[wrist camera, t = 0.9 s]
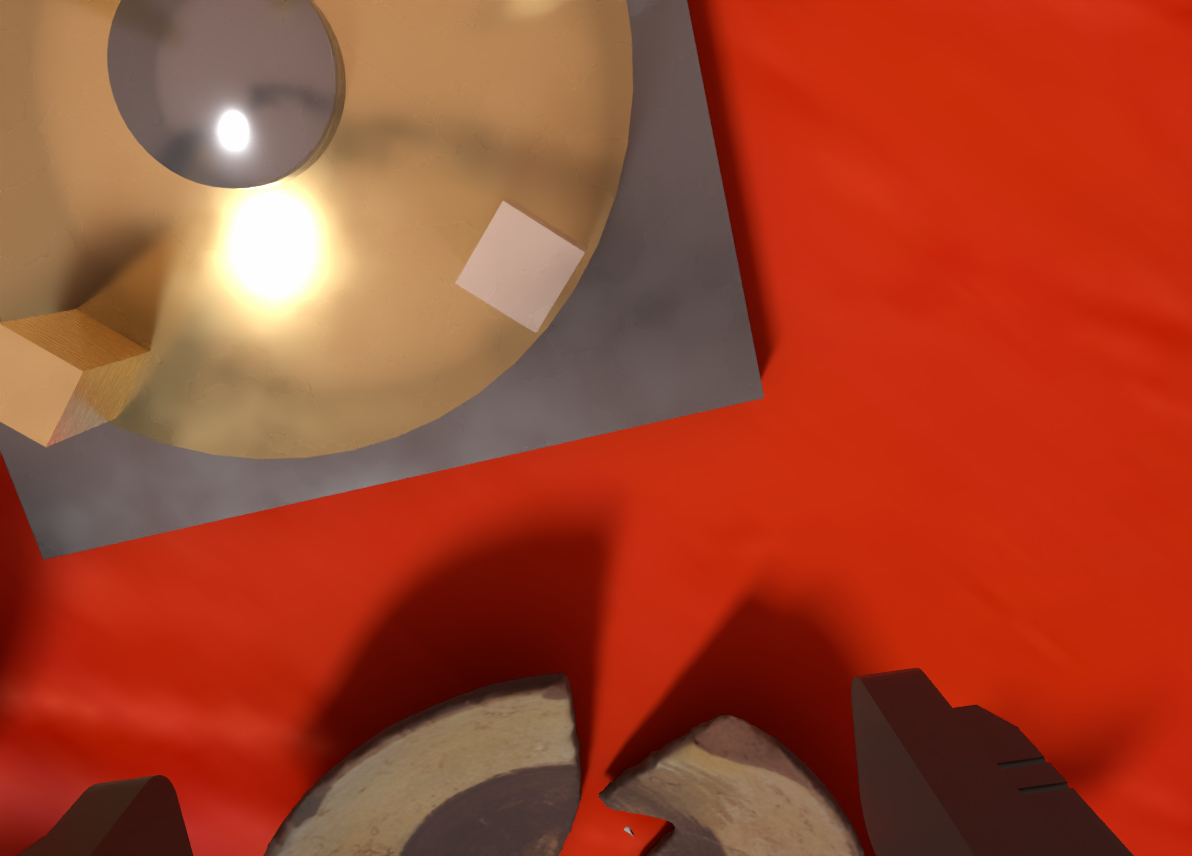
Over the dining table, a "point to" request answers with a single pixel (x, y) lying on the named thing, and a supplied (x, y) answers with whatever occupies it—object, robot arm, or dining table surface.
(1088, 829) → the robot arm
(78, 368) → the round brass tray
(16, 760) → the dining table surface
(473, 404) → the base plate
